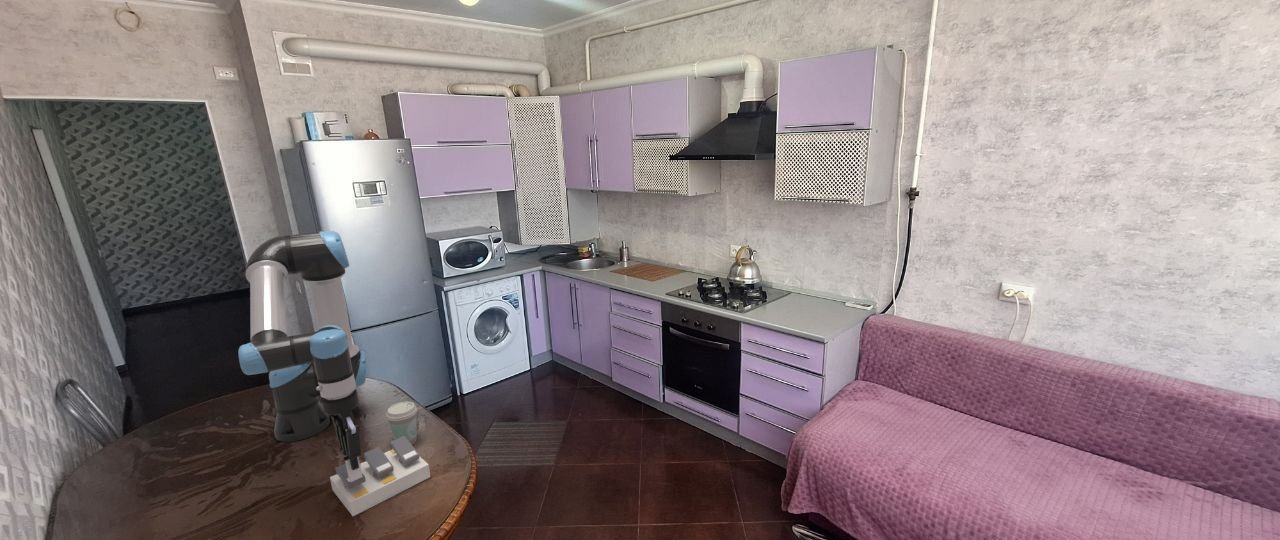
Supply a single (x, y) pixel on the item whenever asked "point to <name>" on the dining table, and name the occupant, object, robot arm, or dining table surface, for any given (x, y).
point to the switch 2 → (378, 462)
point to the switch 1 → (344, 477)
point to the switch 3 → (404, 450)
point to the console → (380, 483)
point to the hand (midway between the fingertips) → (355, 478)
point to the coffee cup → (403, 420)
